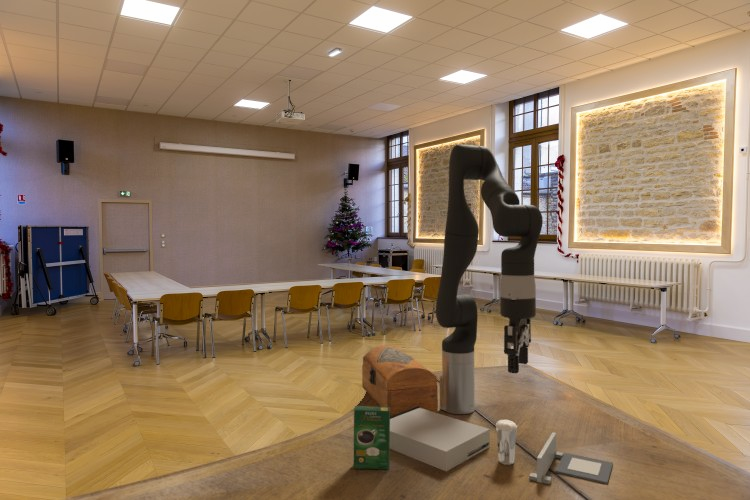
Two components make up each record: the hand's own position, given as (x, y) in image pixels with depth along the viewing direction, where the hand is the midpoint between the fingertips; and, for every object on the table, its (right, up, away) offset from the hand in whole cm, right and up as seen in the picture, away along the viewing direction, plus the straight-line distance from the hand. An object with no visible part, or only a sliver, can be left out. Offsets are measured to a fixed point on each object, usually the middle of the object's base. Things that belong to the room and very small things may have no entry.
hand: (518, 368), depth 110 cm
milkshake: (-2, -21, 0) cm, 21 cm away
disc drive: (-18, -21, +10) cm, 30 cm away
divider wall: (+5, -21, -3) cm, 22 cm away
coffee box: (-32, -21, -2) cm, 39 cm away
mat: (+13, -21, -4) cm, 25 cm away
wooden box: (-25, -20, +44) cm, 54 cm away
